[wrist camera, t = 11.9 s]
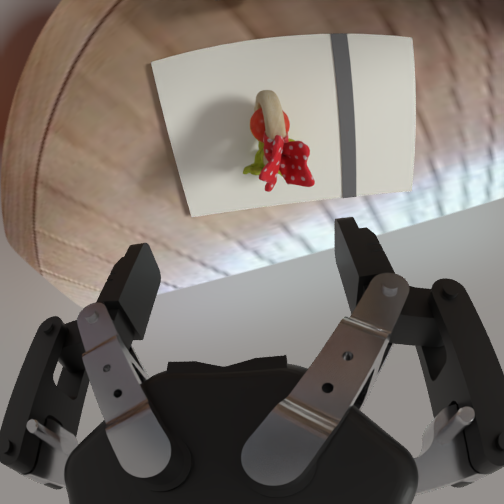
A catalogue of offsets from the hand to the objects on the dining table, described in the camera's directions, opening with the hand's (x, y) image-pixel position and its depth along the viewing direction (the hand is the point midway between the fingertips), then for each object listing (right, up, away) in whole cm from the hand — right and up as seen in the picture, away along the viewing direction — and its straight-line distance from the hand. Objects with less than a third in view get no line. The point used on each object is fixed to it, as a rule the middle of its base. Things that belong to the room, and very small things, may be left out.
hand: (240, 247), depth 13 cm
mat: (+5, +13, +16) cm, 21 cm away
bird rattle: (+2, +12, +16) cm, 20 cm away
